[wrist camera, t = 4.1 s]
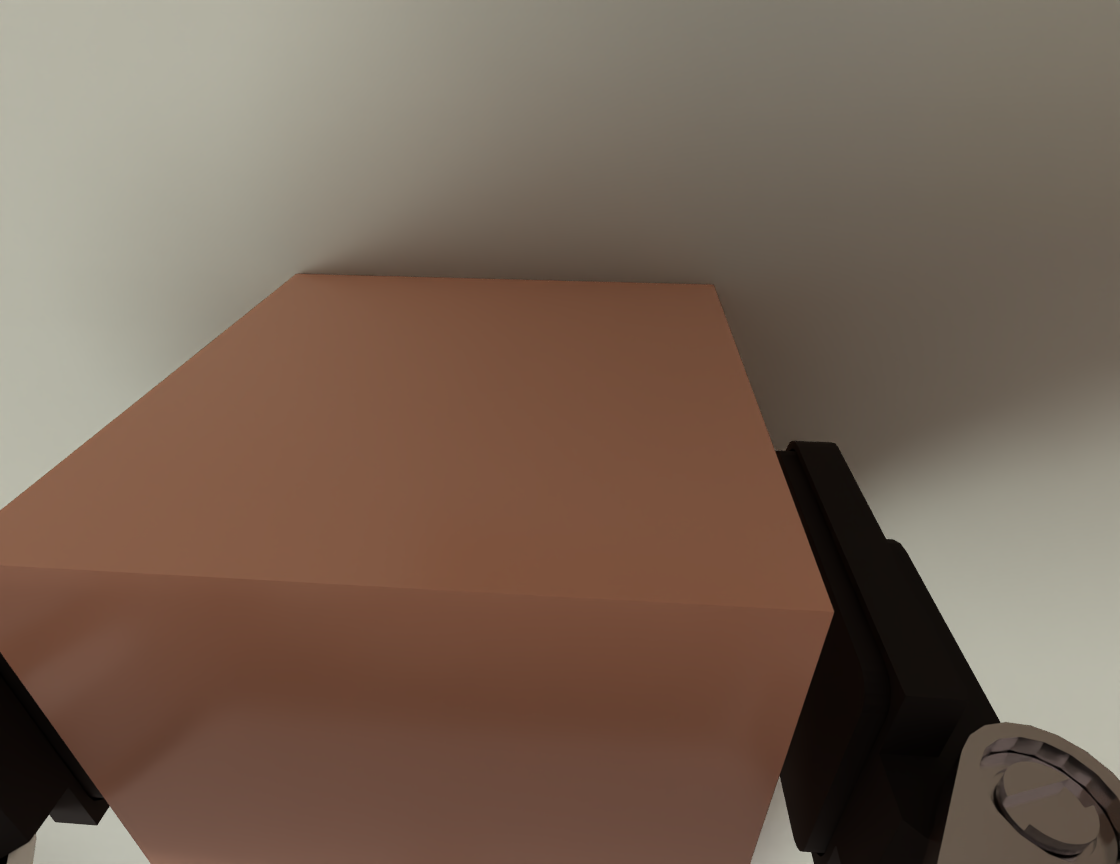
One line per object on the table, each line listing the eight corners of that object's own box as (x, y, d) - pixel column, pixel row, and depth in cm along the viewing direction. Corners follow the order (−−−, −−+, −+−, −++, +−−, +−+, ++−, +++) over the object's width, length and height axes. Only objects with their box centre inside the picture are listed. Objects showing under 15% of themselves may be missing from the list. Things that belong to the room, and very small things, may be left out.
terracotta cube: (713, 282, 9) (833, 611, 4) (672, 586, 12) (711, 978, 7) (298, 271, 9) (-66, 562, 4) (365, 569, 13) (199, 932, 8)
